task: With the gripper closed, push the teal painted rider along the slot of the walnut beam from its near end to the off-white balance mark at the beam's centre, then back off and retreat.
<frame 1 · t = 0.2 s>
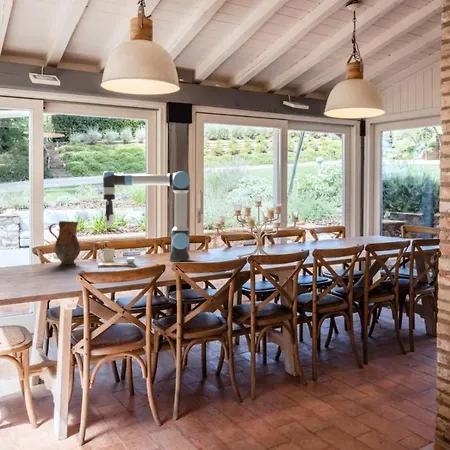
hand: (109, 224, 348), 28 cm above the table, fingers open, 13 cm apart
beam: (117, 267, 338), on the table
pitcher: (64, 265, 346), on the table
mug: (106, 263, 356), on the table
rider: (130, 265, 339), point 1 cm above the table, touching beam
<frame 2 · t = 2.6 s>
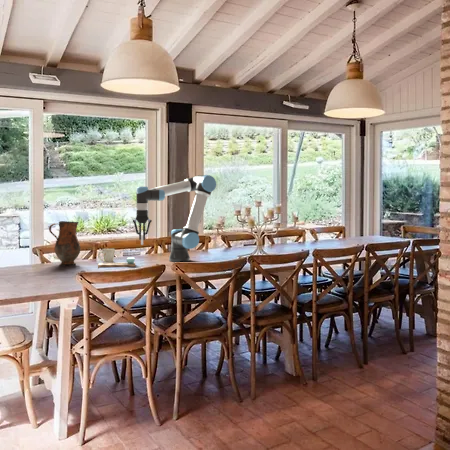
hand: (142, 244, 339), 15 cm above the table, fingers closed
nothing on the table moved.
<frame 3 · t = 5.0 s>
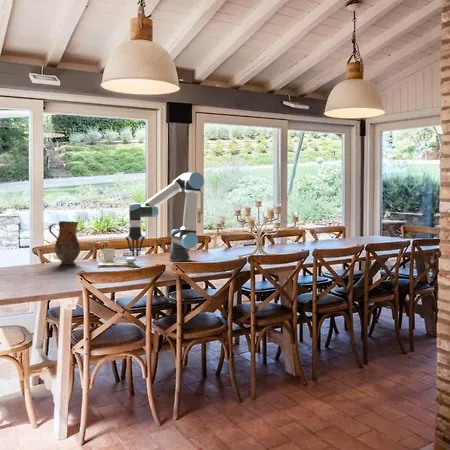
hand: (135, 261, 340), 4 cm above the table, fingers closed
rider: (130, 265, 339), point 1 cm above the table, touching gripper
everything else where it was.
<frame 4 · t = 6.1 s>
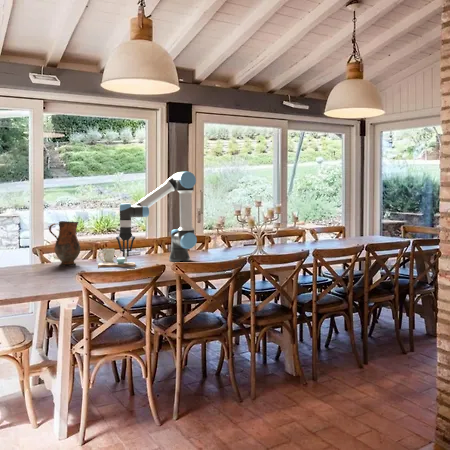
hand: (125, 261, 339), 4 cm above the table, fingers closed
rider: (121, 265, 339), point 1 cm above the table, touching beam, gripper
everything else where it was.
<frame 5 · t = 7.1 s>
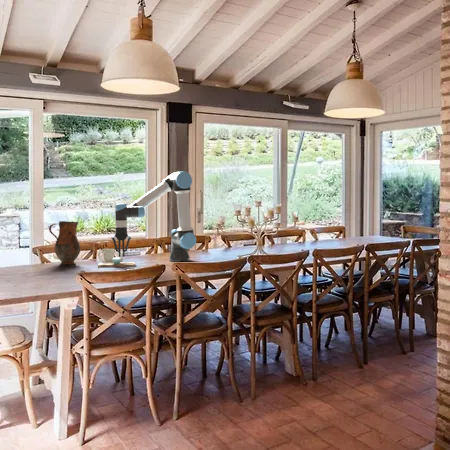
hand: (121, 261, 338), 4 cm above the table, fingers closed
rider: (116, 265, 338), point 1 cm above the table, touching beam, gripper
everything else where it was.
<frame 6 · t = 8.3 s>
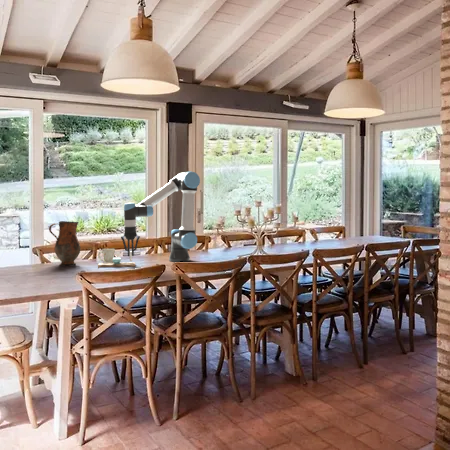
hand: (131, 261, 339), 4 cm above the table, fingers closed
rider: (116, 265, 338), point 1 cm above the table, touching beam
everything else where it was.
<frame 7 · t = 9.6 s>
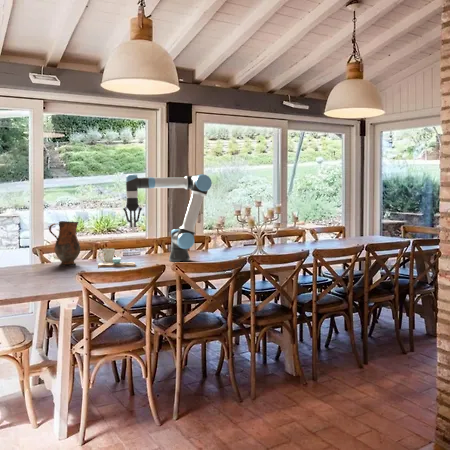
hand: (133, 232, 344), 23 cm above the table, fingers closed
nothing on the table moved.
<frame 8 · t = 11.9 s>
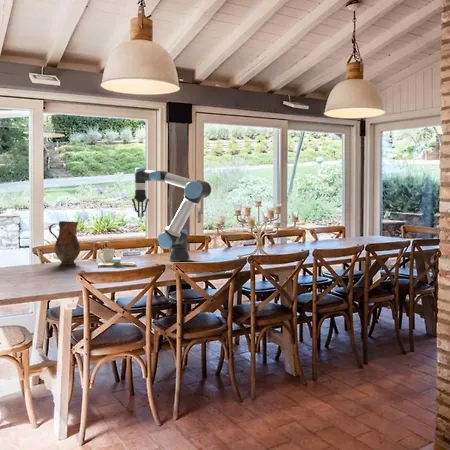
hand: (140, 221, 368), 28 cm above the table, fingers closed
nothing on the table moved.
at the end: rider 0.1 cm off-centre on the beam, point 1.0 cm above the beam's base; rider tilted 0°; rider touching beam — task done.
